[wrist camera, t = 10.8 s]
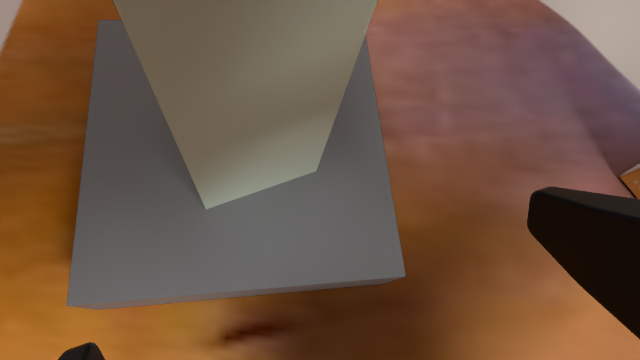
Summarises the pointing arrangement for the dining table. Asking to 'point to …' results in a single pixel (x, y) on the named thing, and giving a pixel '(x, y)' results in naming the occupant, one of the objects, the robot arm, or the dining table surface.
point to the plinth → (225, 219)
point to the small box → (632, 179)
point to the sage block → (247, 82)
